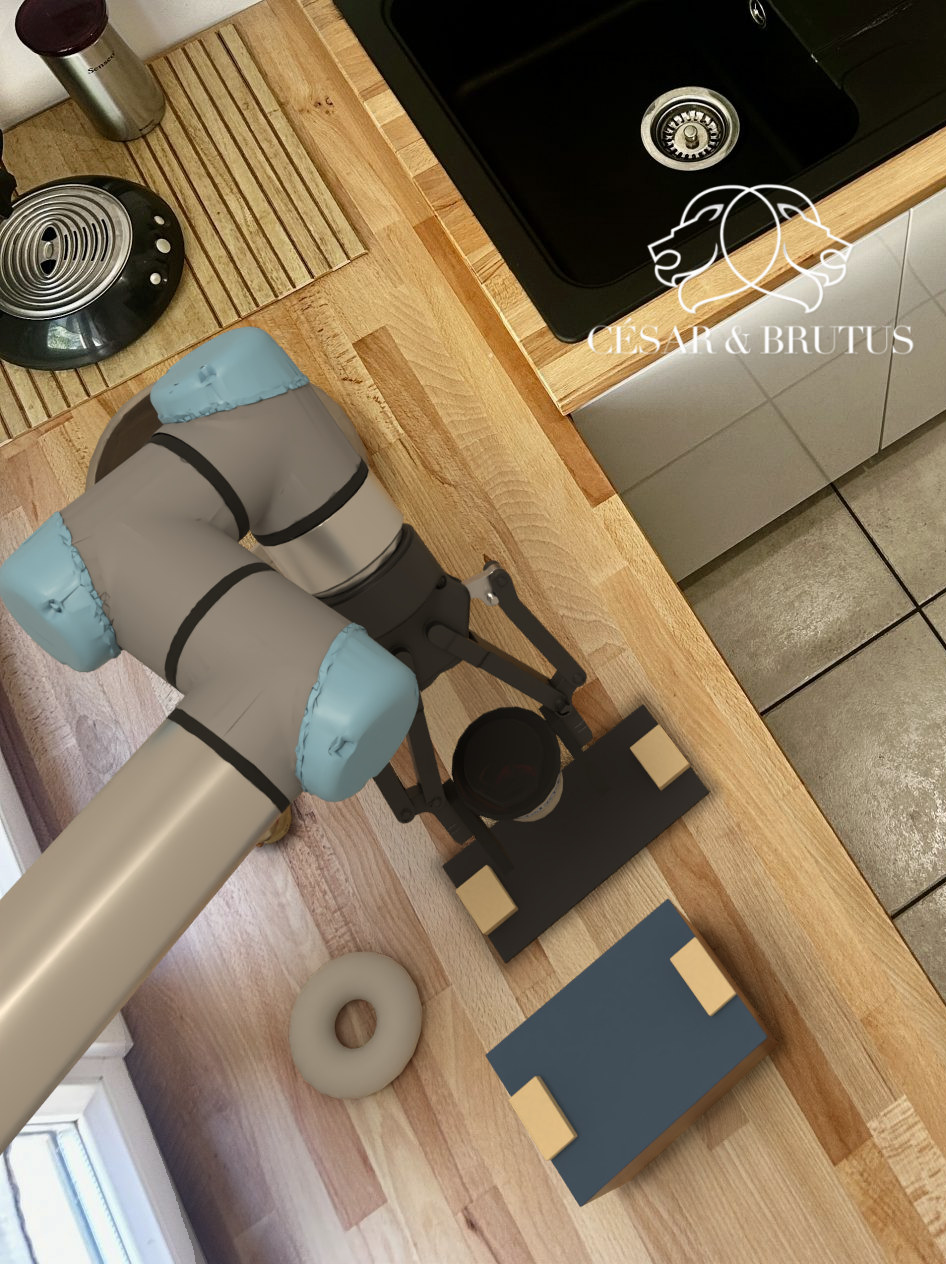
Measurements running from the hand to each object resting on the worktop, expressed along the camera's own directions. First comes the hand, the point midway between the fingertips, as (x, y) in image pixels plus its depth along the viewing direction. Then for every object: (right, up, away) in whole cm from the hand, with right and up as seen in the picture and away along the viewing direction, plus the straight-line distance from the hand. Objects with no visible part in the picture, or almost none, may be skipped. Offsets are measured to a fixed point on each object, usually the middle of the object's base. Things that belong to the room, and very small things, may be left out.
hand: (552, 821), depth 97 cm
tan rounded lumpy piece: (-27, -8, +25) cm, 37 cm away
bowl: (-31, +13, +36) cm, 49 cm away
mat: (-1, -9, +22) cm, 24 cm away
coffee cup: (-2, +1, +4) cm, 5 cm away
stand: (+7, -23, +15) cm, 28 cm away
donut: (-17, -22, +17) cm, 32 cm away
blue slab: (+5, -11, -6) cm, 14 cm away
